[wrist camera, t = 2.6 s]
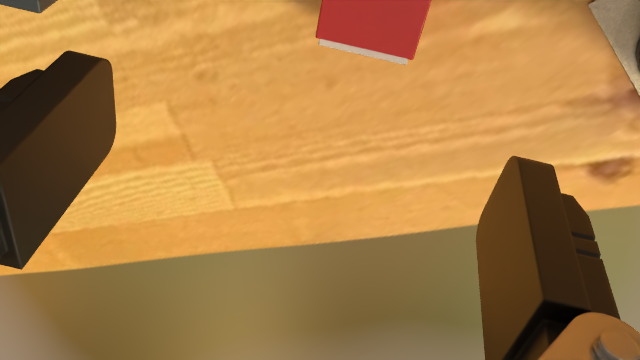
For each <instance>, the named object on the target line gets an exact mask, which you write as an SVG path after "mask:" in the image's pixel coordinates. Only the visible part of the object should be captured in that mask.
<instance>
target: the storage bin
mask: <svg viewBox="0 0 640 360" xmlns="http://www.w3.org/2000/svg"><path fill="white" fill-rule="evenodd" d="M56 1H57V0H0V4H1V5H5V6H10V7H14V8H18V9H23V10H27V11H31V12H35V13H42V12H43V11H44V10H45V9H47V8H48V7H49V6H51V5H52V4H53V3H55V2H56Z"/></svg>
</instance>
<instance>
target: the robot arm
mask: <svg viewBox="0 0 640 360" xmlns="http://www.w3.org/2000/svg"><path fill="white" fill-rule="evenodd" d="M115 133H116V114H115V101H114V87H113V73H112V67H111V64H110V62H109V61H108V60H107V59H104V58H99V57H95V56H91V55H86V54H82V53H78V52H74V51H66V52H64V53H63V54H62V55H61V56H60V57H59V58H58V59H56V60H55V61H54V62H53V63H52V64H51V65H50V66H49V67H48V68H46V69H45V70H44V71H43V70H39V69H36V70H33V71H31V72H28V73H26V74H24V75H21V76H19V77H16V78H14V79H11V80H10V81H9V82H8V83H7V84H6V85H4V86H3V87H2V88H1V89H0V264H1V265H5V266H9V267H13V268H17V269H21V270H22V269H23V267H24V266H25V265H26V263H27V262H28V261H29V259H30V258H31V257H32V255H33V254H34V253H35V251H36V250H37V249H38V247H39V246H40V245H41V243H42V242H43V241H44V239H45V238H46V237H47V235H48V234H49V232H50V231H51V230H52V228H53V227H54V226H55V224H56V223H57V222H58V220H59V219H60V218H61V216H62V215H63V214H64V212H65V211H66V210H67V208H68V207H69V206H70V204H71V203H72V202H73V200H74V199H75V198H76V196H77V195H78V194H79V192H80V191H81V190H82V188H83V187H84V186H85V184H86V183H87V182H88V180H89V179H90V178H91V176H92V175H93V174H94V172H95V171H96V170H97V168H98V167H99V166H100V164H101V163H102V162H103V160H104V159H105V158H106V156H107V155H108V153H109V152H110V150H111V147H112V145H113V142H114V138H115ZM594 240H595V235H594V231H593V228H592V225H591V222H590V219H589V216H588V215H587V214H586V212H585V211H584V210H583V208H582V207H581V206H580V205H579V203H578V202H577V201H576V199H575V198H574V197H573V196H571V195H567V194H562V193H561V192H560V188H559V184H558V180H557V177H556V173H555V169H554V167H553V165H551V164H547V163H543V162H538V161H534V160H530V159H526V158H521V157H517V156H512V157H511V158H510V159H509V160H508V162H507V163H506V165H505V167H504V169H503V171H502V173H501V175H500V177H499V179H498V181H497V183H496V185H495V187H494V189H493V191H492V193H491V195H490V197H489V199H488V201H487V204H486V206H485V208H484V210H483V212H482V214H481V217H480V220H479V224H478V229H477V235H476V245H477V246H476V247H477V260H478V273H479V286H480V297H481V298H480V299H481V312H482V323H483V337H484V350H485V360H640V333H639V332H638V331H636V330H635V329H634V328H632V327H631V326H630V325H628V324H626V323H625V322H623V321H621V320H620V316H619V313H618V310H617V307H616V303H615V300H614V297H613V294H612V290H611V287H610V284H609V280H608V277H607V274H606V271H605V267H604V264H603V261H602V259H600V255H601V254H600V251H599V248H598V244H597V242H595V241H594Z"/></svg>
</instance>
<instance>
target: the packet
mask: <svg viewBox="0 0 640 360" xmlns="http://www.w3.org/2000/svg"><path fill="white" fill-rule="evenodd" d="M430 3H431V0H322V3H321V9H320V14H319V20H318V26H317V31H316V38H319V45H321V46H326V47H330V48H334V49H339V50H343V51H347V52H352V53H356V54H360V55H365V56H369V57H373V58H378V59H382V60H386V61H391V62H395V63H399V64H404V65H406V64H407V62H408V59H410V60H413V59H414V55H415V52H416V49H417V46H418V42H419V39H420V36H421V33H422V29H423V26H424V23H425V20H426V16H427V13H428V10H429V7H430Z"/></svg>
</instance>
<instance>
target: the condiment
mask: <svg viewBox="0 0 640 360" xmlns="http://www.w3.org/2000/svg"><path fill="white" fill-rule="evenodd" d="M588 6H589V8H590V10H591V11H592V13H593V15H594V17H595V18H596V20H597V22H598V23H599V25H600V27H601V29H602V30H603V32H604V34H605V36H606V37H607V39H608V40H609V42H610V44H611V46H612V48H613V50H614V51H615V53H616V55H617V56H618V58H619V60H620V62H621V63H622V65H623V67H624V69H625V70H626V72H627V74H628V75H629V77H630V79H631V81H632V82H633V84H634V86H635V88H636V89H637V91H638V93H639V95H640V0H596V1H594V2H592V3H590V4H589V5H588Z"/></svg>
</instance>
